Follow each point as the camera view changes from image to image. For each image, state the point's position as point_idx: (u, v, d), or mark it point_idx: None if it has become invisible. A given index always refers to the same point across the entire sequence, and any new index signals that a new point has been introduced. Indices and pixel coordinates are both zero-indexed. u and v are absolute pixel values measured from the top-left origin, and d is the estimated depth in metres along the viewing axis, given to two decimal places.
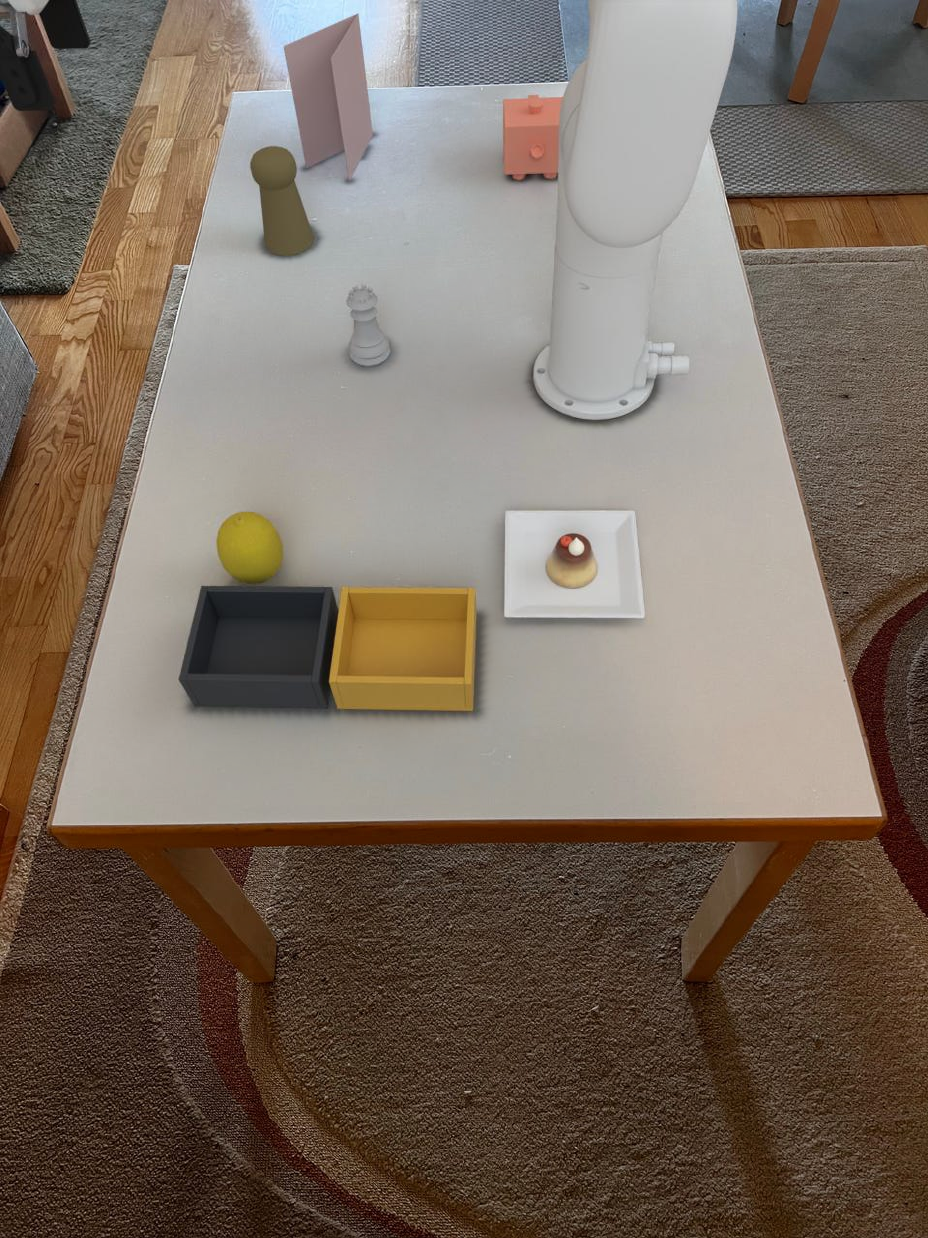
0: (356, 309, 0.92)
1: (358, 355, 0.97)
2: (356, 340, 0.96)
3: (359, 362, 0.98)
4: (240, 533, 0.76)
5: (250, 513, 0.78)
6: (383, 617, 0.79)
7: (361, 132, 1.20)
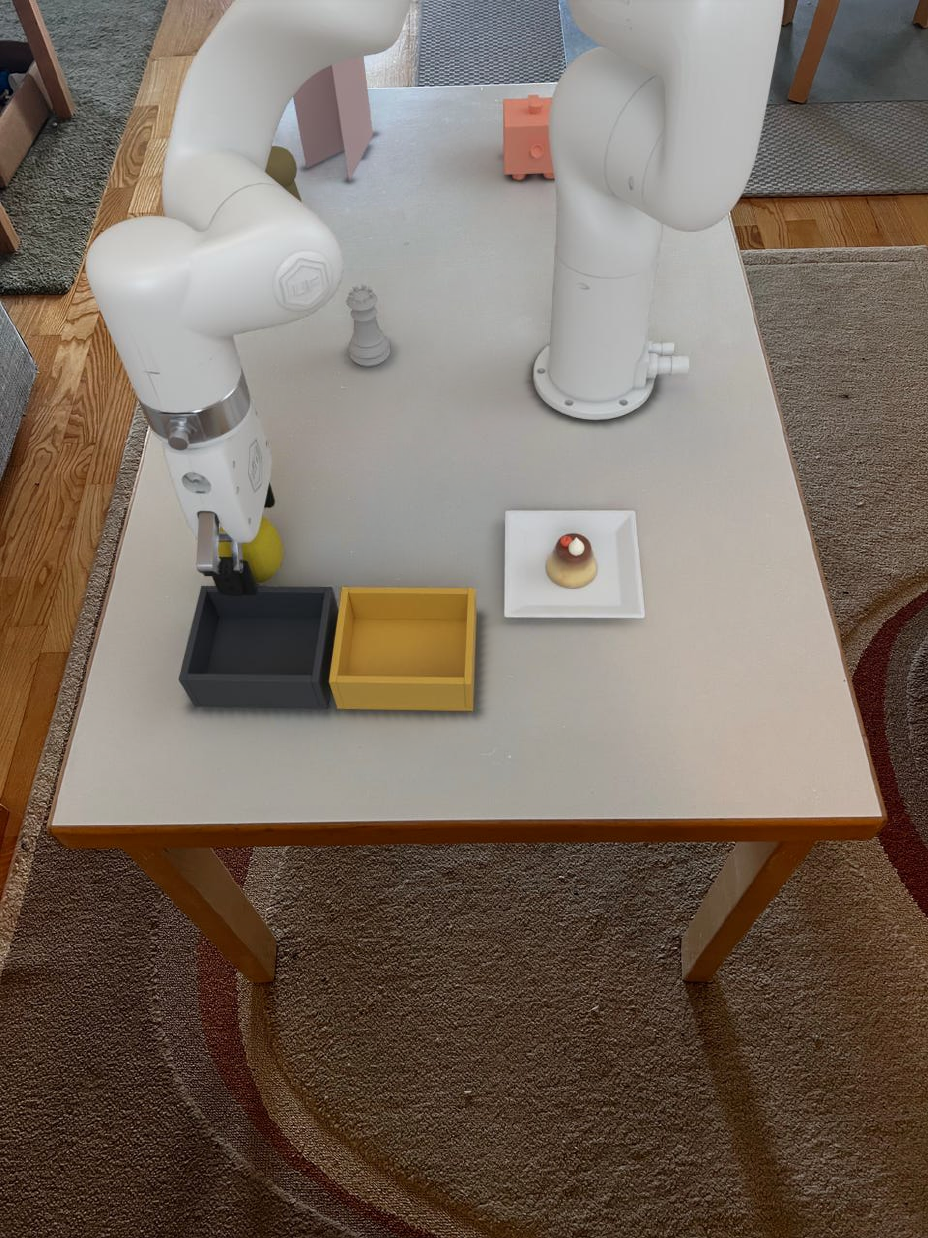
0: (356, 309, 0.92)
1: (358, 355, 0.97)
2: (356, 340, 0.96)
3: (359, 362, 0.98)
4: None
5: None
6: (383, 617, 0.79)
7: (361, 132, 1.20)
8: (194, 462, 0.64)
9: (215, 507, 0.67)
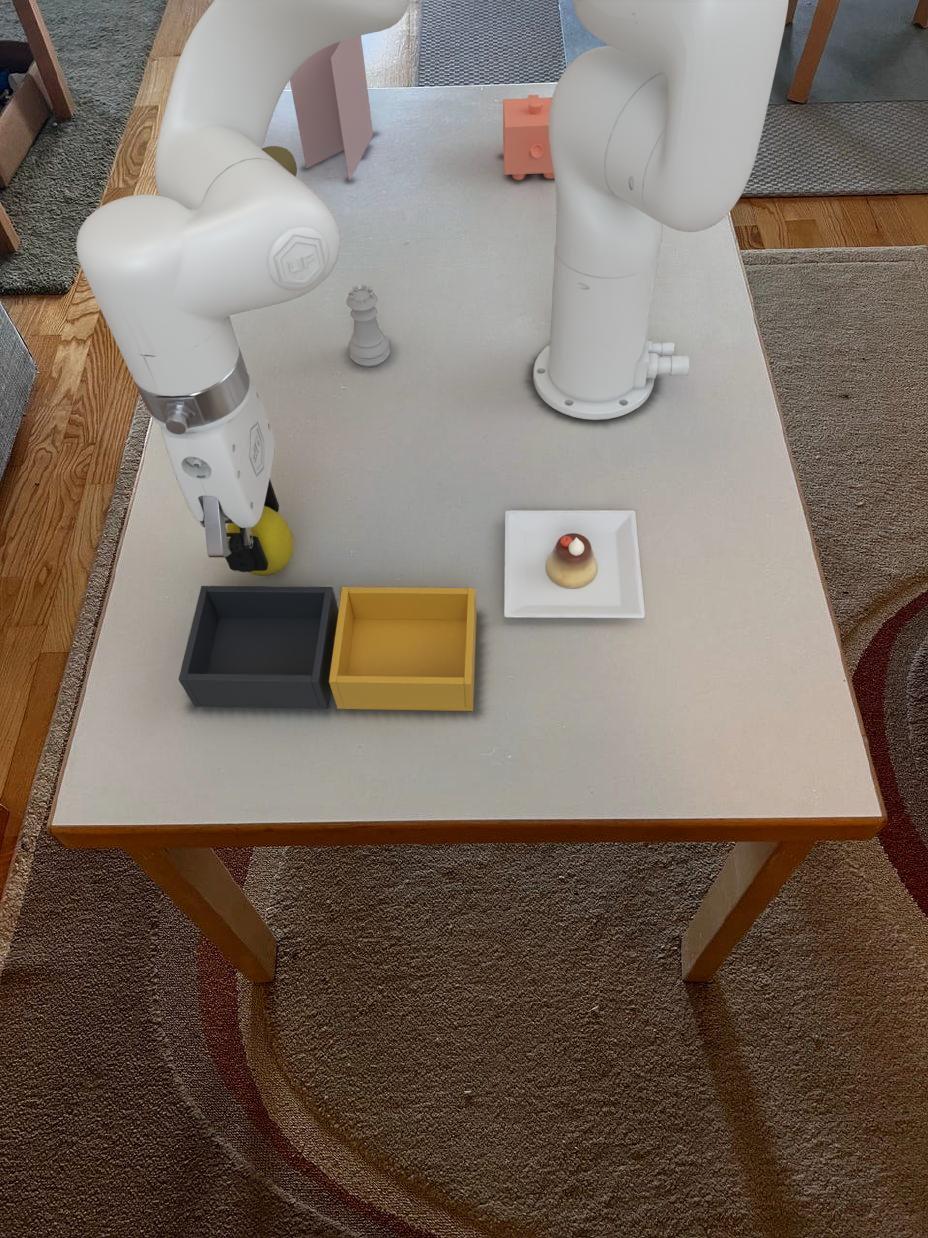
0: (356, 309, 0.92)
1: (358, 355, 0.97)
2: (356, 340, 0.96)
3: (359, 362, 0.98)
4: None
5: None
6: (383, 617, 0.79)
7: (361, 132, 1.20)
8: (193, 446, 0.63)
9: (216, 492, 0.66)
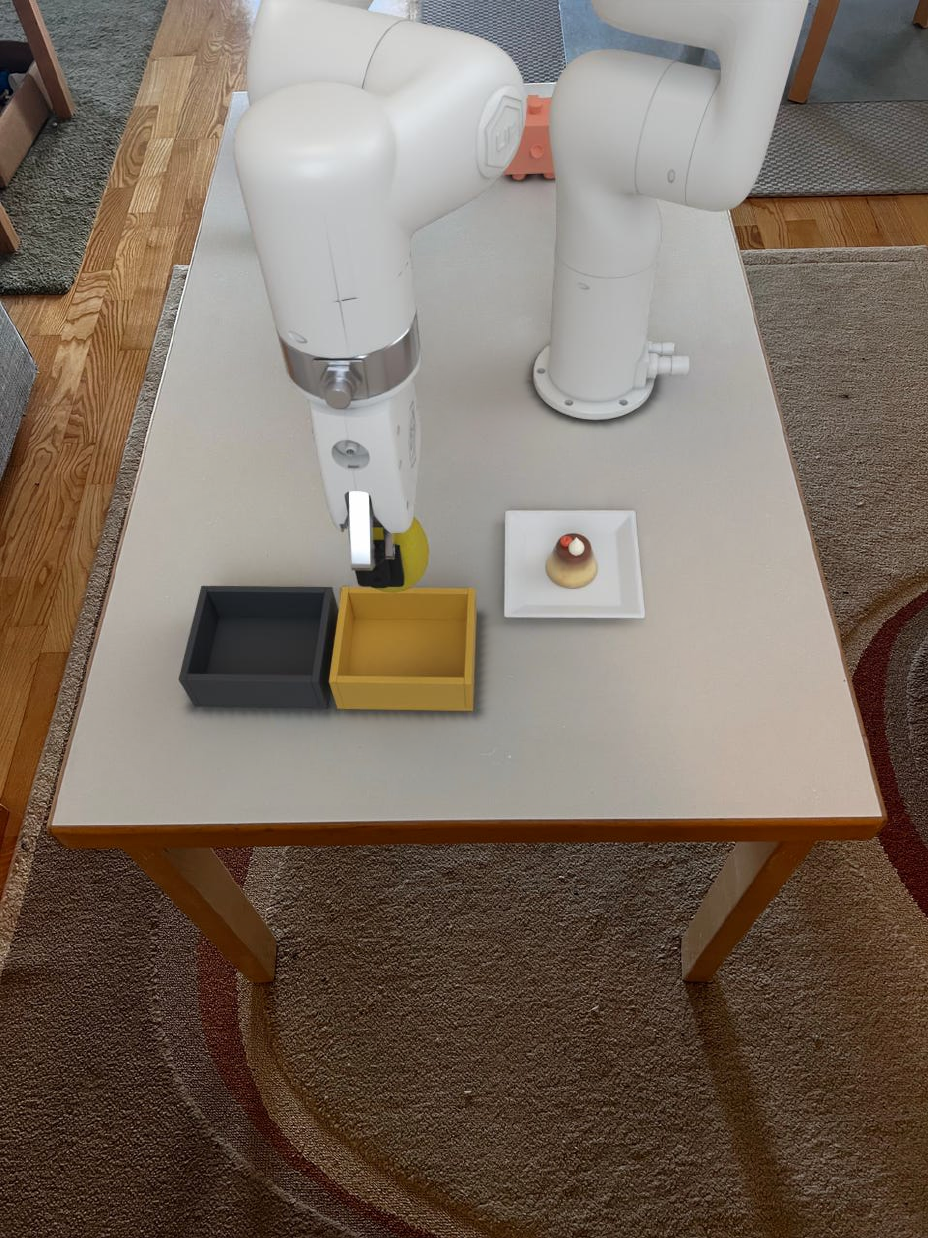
0: None
1: None
2: None
3: None
4: None
5: None
6: (383, 617, 0.79)
7: None
8: (352, 426, 0.49)
9: (370, 486, 0.52)
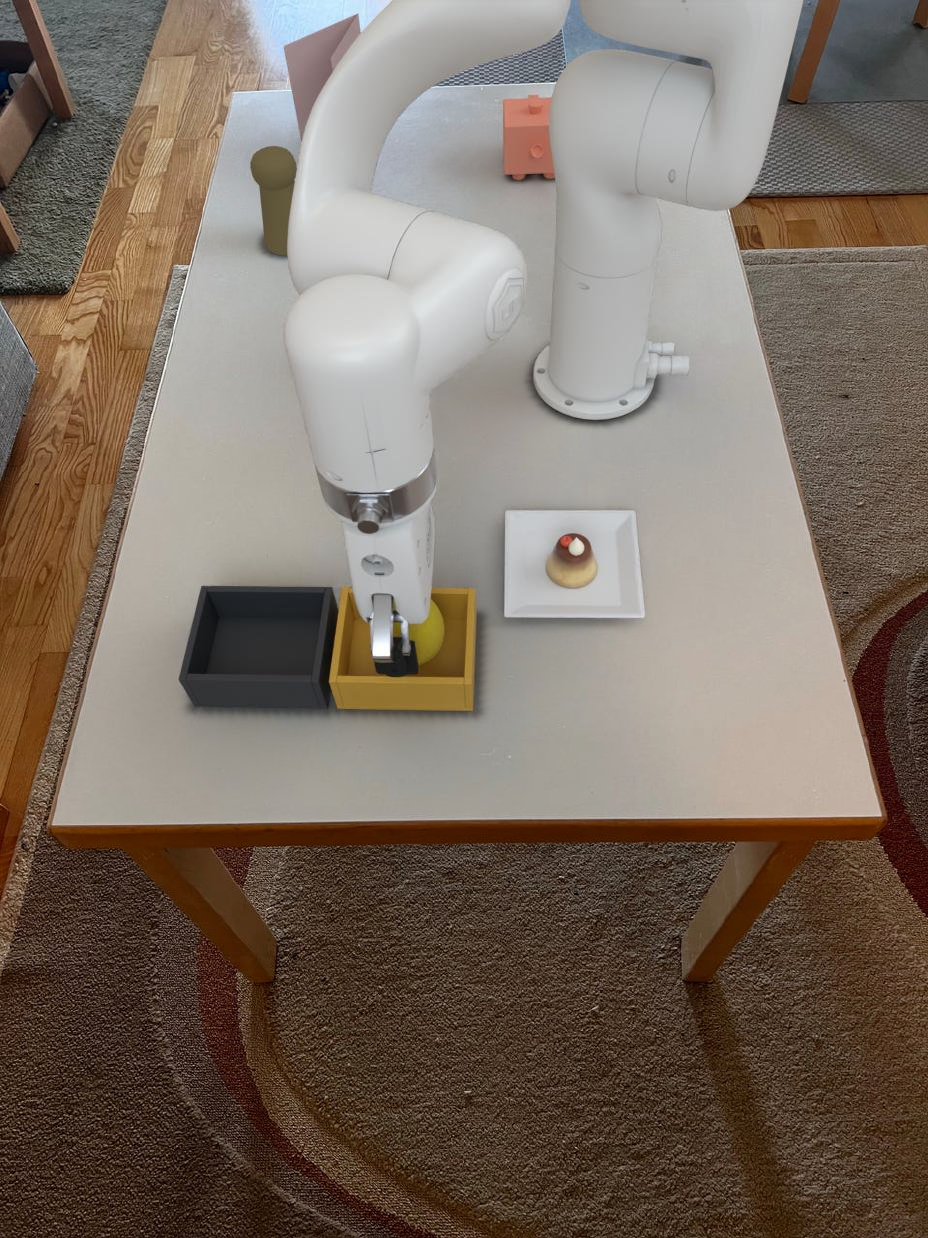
0: None
1: None
2: None
3: None
4: None
5: None
6: None
7: None
8: (379, 544, 0.57)
9: (393, 590, 0.60)
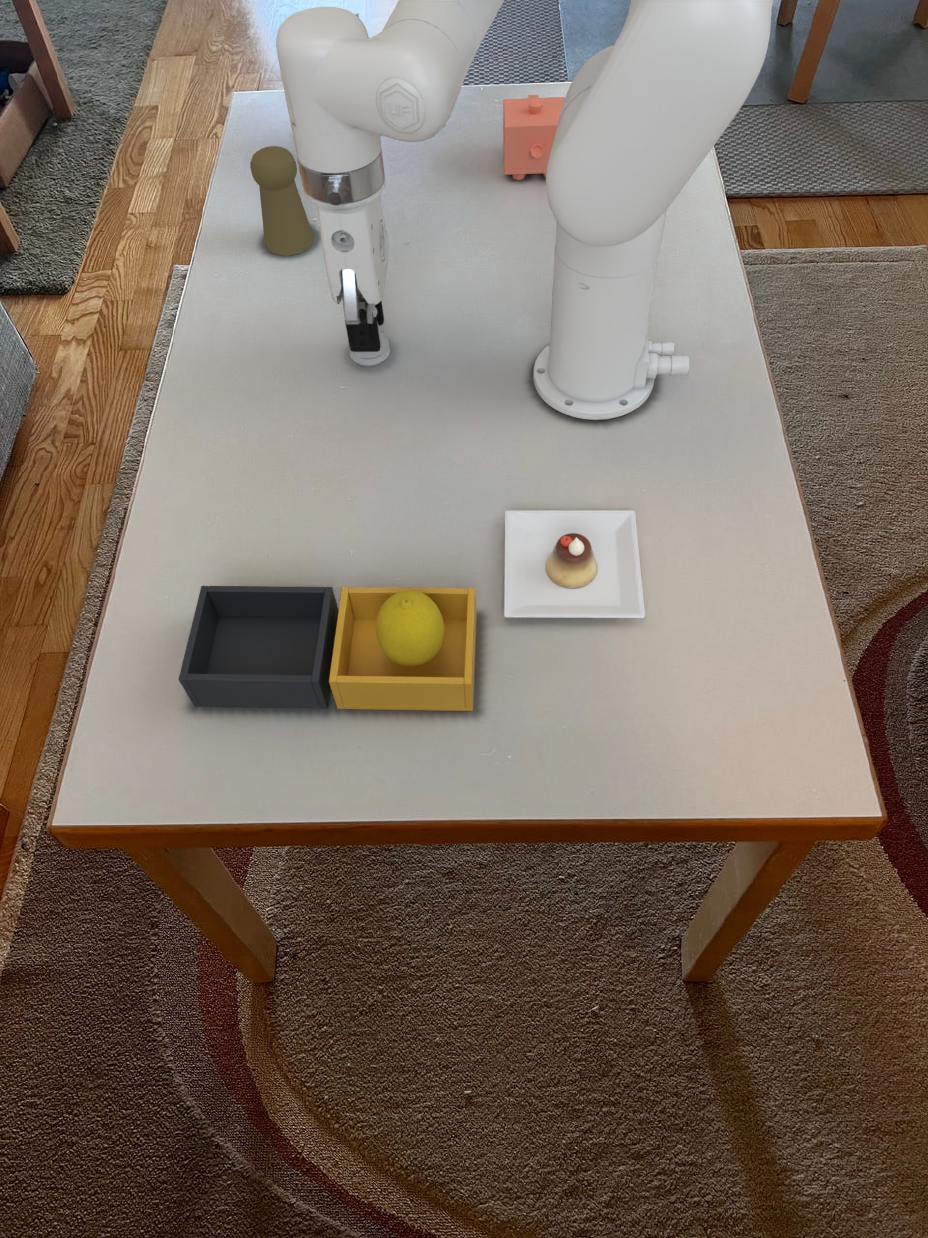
0: None
1: (358, 355, 0.97)
2: None
3: (359, 362, 0.98)
4: (408, 616, 0.70)
5: (414, 593, 0.72)
6: None
7: None
8: (343, 220, 0.81)
9: (355, 265, 0.84)
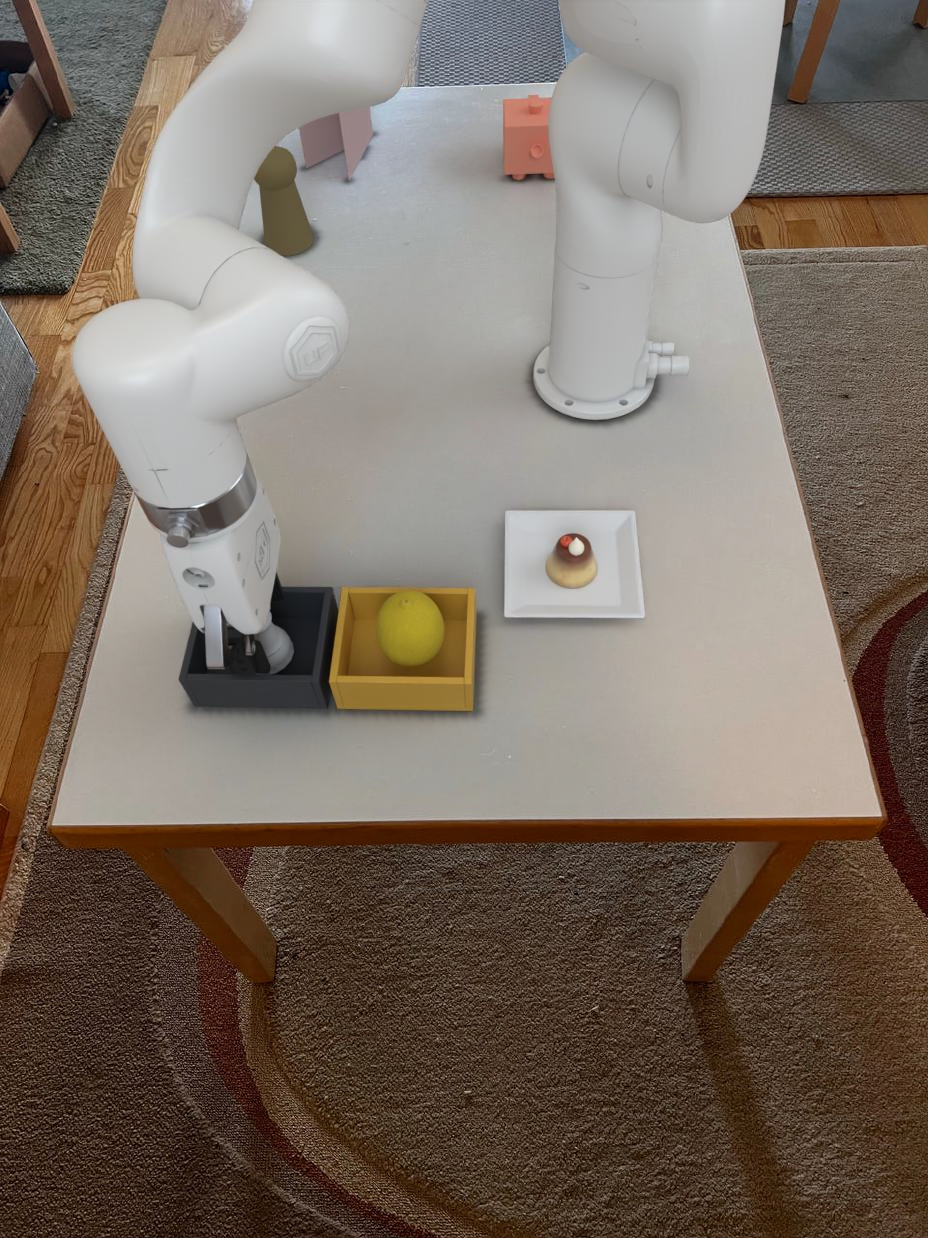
0: None
1: None
2: None
3: None
4: (408, 616, 0.70)
5: (414, 593, 0.72)
6: None
7: (361, 132, 1.20)
8: (196, 557, 0.58)
9: (219, 601, 0.62)
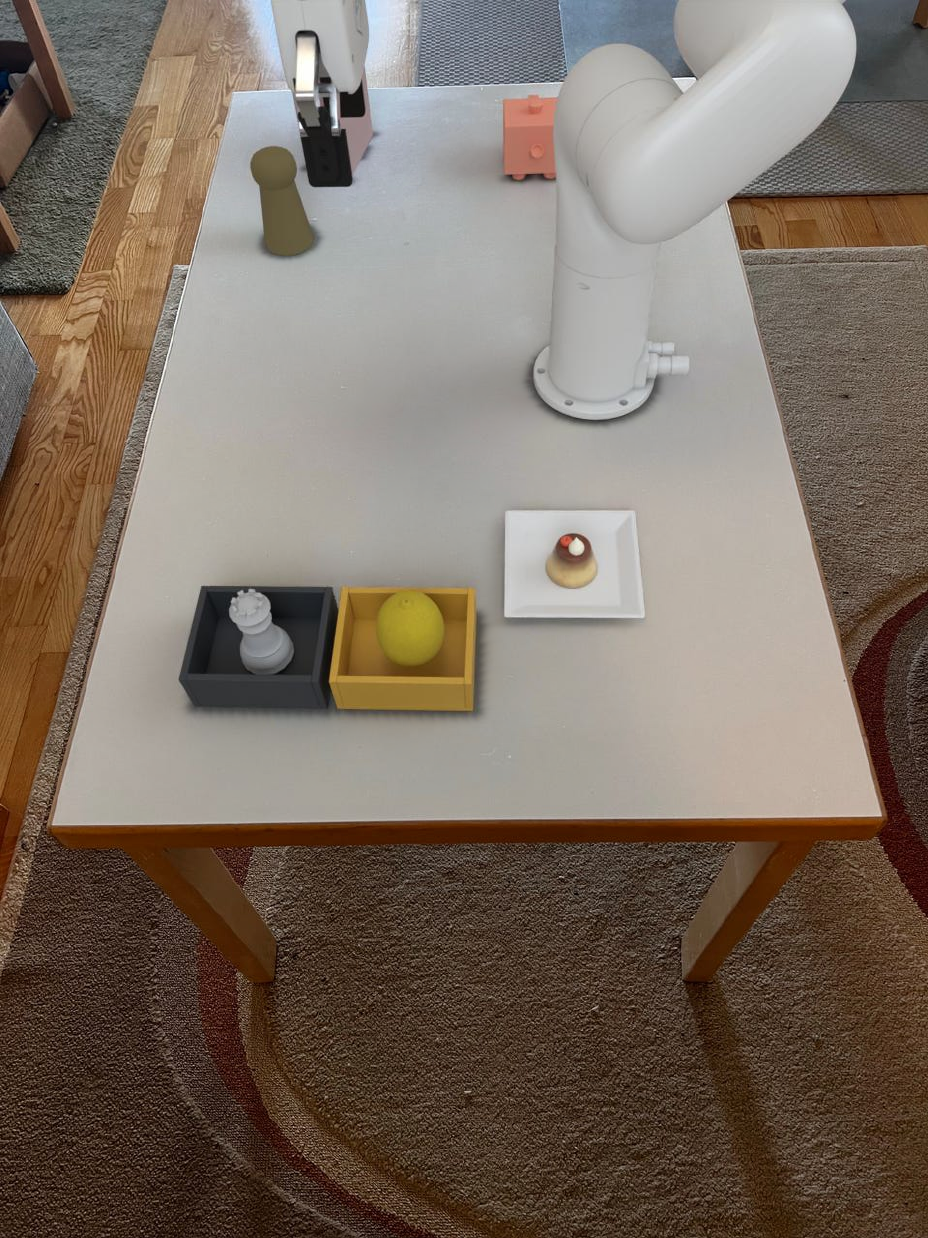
0: (241, 624, 0.71)
1: (250, 665, 0.75)
2: (246, 647, 0.75)
3: (252, 671, 0.76)
4: (408, 616, 0.70)
5: (414, 593, 0.72)
6: None
7: (361, 132, 1.20)
8: None
9: (317, 22, 0.58)
